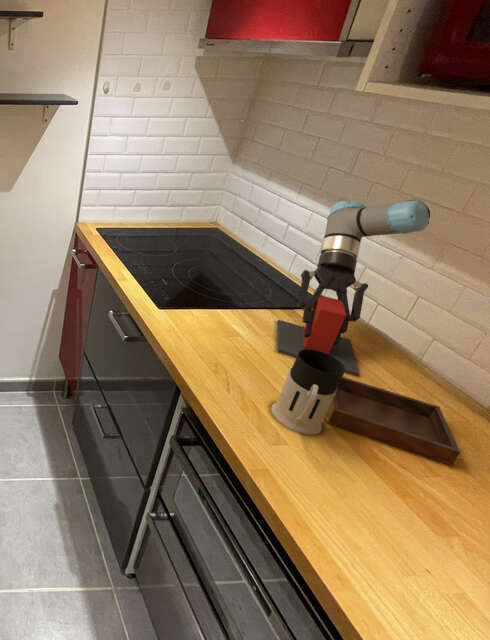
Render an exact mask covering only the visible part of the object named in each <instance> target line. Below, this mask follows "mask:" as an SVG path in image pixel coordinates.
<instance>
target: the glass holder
mask: <svg viewBox="0 0 490 640" xmlns="http://www.w3.org/2000/svg"><path fill="white" fill-rule="evenodd" d="M345 373H346V372H345V367H344V365H343V364H342V363H341V362H340V361H339V360H337V359H336V358H334V357H333V356H331V355H328V354H326V353H324V352H321V351H317V350H312V349H303V350H300V351H299V353H298V355H297V357H295V360H294V362H293V364H292V367H291V368H290V369H289V371H288V374H287V377H286V378H285V381H284V383H283V386H282V388H281V391H280V393H279V395H278V398H277V401H275V402H274V403H273V404H272V406H271V407H270V409H271V413H272V415H273V416H274V418H275V419H276V420H277V421H278V422H279V423H281V424H282V425H283V426H284V427H286V428H288V429H290V430H292V431H295V432H297V433H300V434H302V435H303V434H304V435H317V434H319V433H320V432H321V431H322V429H323V426H322V425H323V424H322V423H323V420H324V419H325V417H326V415H327V410H328V408H329V406H330V404H331V402H332V400H333V398H334V396H335V393H336V391H337V389H338V384H339V382H340V380H341V378H342V377H344V374H345Z"/></svg>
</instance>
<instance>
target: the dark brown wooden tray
mask: <svg viewBox="0 0 490 640" xmlns="http://www.w3.org/2000/svg"><path fill="white" fill-rule="evenodd" d="M326 419H327V423H328V424H331V425H334V426H337V427H340V428H341V429H342V428H343V429H345V430H348V431H351V432H353V433H357V434H359V435H362V436H365V437H368V438H371V439H374V440H377V441H379V442H382V443H385V444H388V445H391V446H393V447H397V448H399V449H402V450H405V451H408V452H410V453H413V454H416V455H419V456H422V457H425V458H428V459H430V460H434V461H436V462H439V463H442V464H444V465H447V466H450V467H452V465H453V464H454V463H455V461H456V459H457V458H458V457H459V455H460V454H461V451H460V448H459V446H458V444H457V442H456V440H455V437H454V436H453V433H452V431H451V429H450V427H449V424H448V422H447V420H446V418H445V416H444V414H443V411H442V409H441V407H440V406H439V405H435V404H433V403H429V402H426V401H422V400H420V399H416V398H413V397H410V396H407V395H403V394H401V393H397V392H393V391H391V390H387V389H385V388H384V389H383V388H380V387H377V386H375V385H371V384H367V383H364V382H361V381H357V380H354V379H351V378H348V377H344V376H342V378H341V380H340V382H339V384H338V389H337V391H336V393H335V396H334V398H333V400H332V402H331V404H330V406H329V408H328V410H327V412H326Z"/></svg>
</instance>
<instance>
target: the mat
mask: <svg viewBox="0 0 490 640" xmlns="http://www.w3.org/2000/svg"><path fill="white" fill-rule="evenodd" d="M304 328H305V326H302V325H299V324H295V323H292V322H288V321H284V320H281V319H277V321H276V332H277V335H276V336H277V338H276V339H277V340H276V341H277V353H280V354H284V355H287V356H290V357H293V358H296V357H297V355H298V353H299V351H300V350H303V349H304V343H303V330H304ZM329 355H331V356H333V357H334V358H336V359H337V360H339V361H340V362H341V363H342V364H343V365H344V367H345V372H344V373H345V374H350V375H352V376H356V377H358V376H359V369H358V365H357V361H356V358H355V354H354V350H353V346H352V343H351V339H350V338H346V337H342V336H340V342H339V344H337V345H333V346H332V348H331V351H330V353H329Z"/></svg>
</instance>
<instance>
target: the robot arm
mask: <svg viewBox="0 0 490 640" xmlns="http://www.w3.org/2000/svg"><path fill="white" fill-rule="evenodd" d="M328 213H329V214H328V216H327V217H326V221H327V222H326V227H325V232H324V237H323V241H322V244H321V248H320V255H319V258H318V263H317V267H316V269H315V270H312V271H311V270H308V269H304V270H303V271H302V273H301V274H300V277H301V285H300V288H299V293H298V296H297V301H296V307H297V308H299V309H302V310H303V315H302V319H301V322H302V323H303V324H305V325H306V329H305V333H304V337H309V336H310V335H311V330H312V325H313V321H314V316H315V311H313V310H312V309H313V307H314V305H315V304H316V302H317V300H318V297H320V295H321V296H322V294H323V292H324V291H325V290H331V291H333V292H335V294H336V296H337V300H341V302H343V305H344V308H345V312H346V318H345V320H344V322H343V324H342V326H341V329H340V331H339V333H338V335H337V337H336V339H335V342H334V344H333V345H337V344H339V342H340V337H342V334H345V333H347V331H348V327H349V323H350V322H352V323H353V322H357V321H358V320H359V319H360V318H361V315H362V308H363V302H364V296H365V292H366V291H367V289H368V288H369V284H368V283H362V282H359V281H358V280H357V278H356V275H355V274H356V269H357V262H358V258H359V252H360V248H361V243H362V239H363V238H364V237H366V238H367V237H373V236H385V235H397V234H402V235H405V234H410V233H417V232H421V231H424V230H425V229H427V227H428V226H427V225H428V224H429V218H430V210H429V208H428V206H427V205H426V204H425V203H424V202H423V201H421V200H418V199H416V198H412V199H408V200H403V201H397V202H392V203H387V204H380V205H374V206H368V207H367V206H366V205H365V204H364V203H363V202H362V203H361V202H359V201H355V200H350V201H348V200H342V201H338V202H335V203H333V205H332V206H331V207H330V210H329V212H328ZM426 226H427V227H426ZM313 277H314V278H315V280H316V282H317V283H318V286H317V287H316V289H315V291H314V293H313V294H312V296H311V297H310V299H309V300H308V302H307V303H306V299H307V295H308V291H309V288H310V284H311V283H310V282H311V280H312V279H313ZM350 286H353V290H354V291H355V292H354V295H353V300H352V305H351V311H350V307H349V300H348V288H349V287H350ZM306 323H307V324H306Z"/></svg>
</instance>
